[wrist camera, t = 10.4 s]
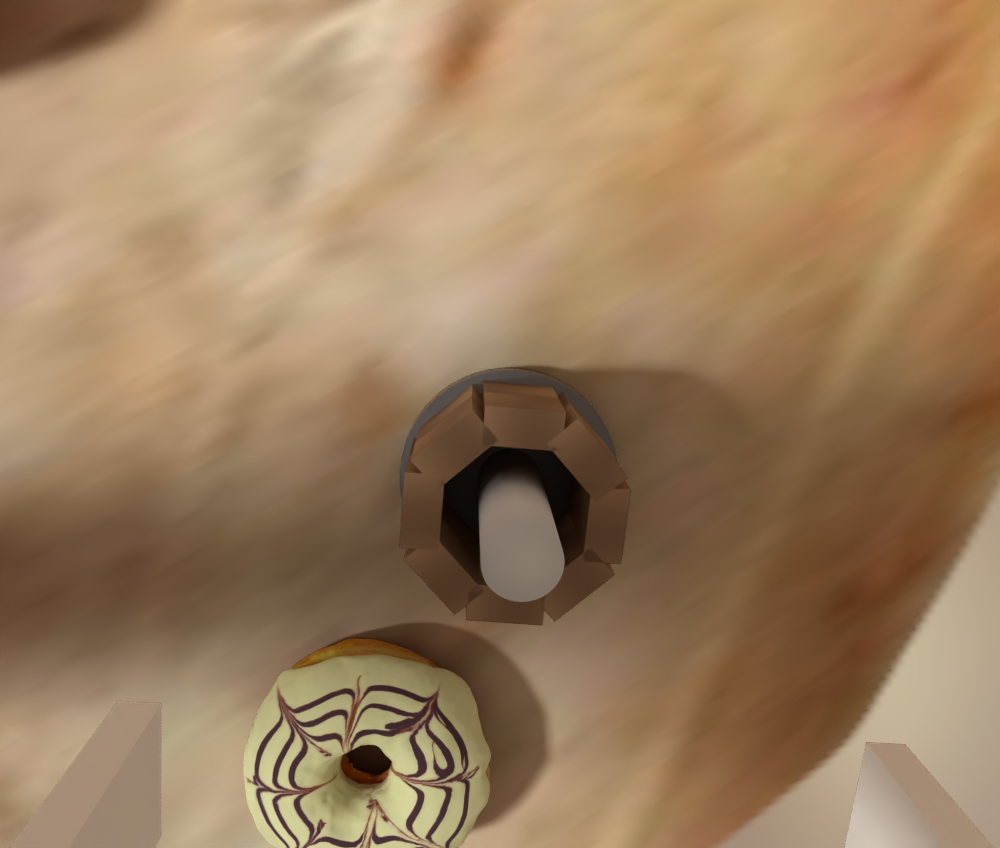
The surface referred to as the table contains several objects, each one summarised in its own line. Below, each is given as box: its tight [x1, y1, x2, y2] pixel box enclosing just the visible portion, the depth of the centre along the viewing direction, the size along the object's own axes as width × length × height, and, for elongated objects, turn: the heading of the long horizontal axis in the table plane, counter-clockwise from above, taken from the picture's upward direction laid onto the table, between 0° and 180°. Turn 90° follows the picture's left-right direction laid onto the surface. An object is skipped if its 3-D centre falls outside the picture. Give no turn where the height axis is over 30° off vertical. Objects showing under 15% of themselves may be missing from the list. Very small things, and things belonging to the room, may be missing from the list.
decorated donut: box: [243, 638, 491, 848], centre depth 37 cm, size 10×11×4 cm
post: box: [400, 368, 617, 602], centre depth 31 cm, size 9×9×10 cm
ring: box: [399, 381, 631, 625], centre depth 32 cm, size 8×8×5 cm
